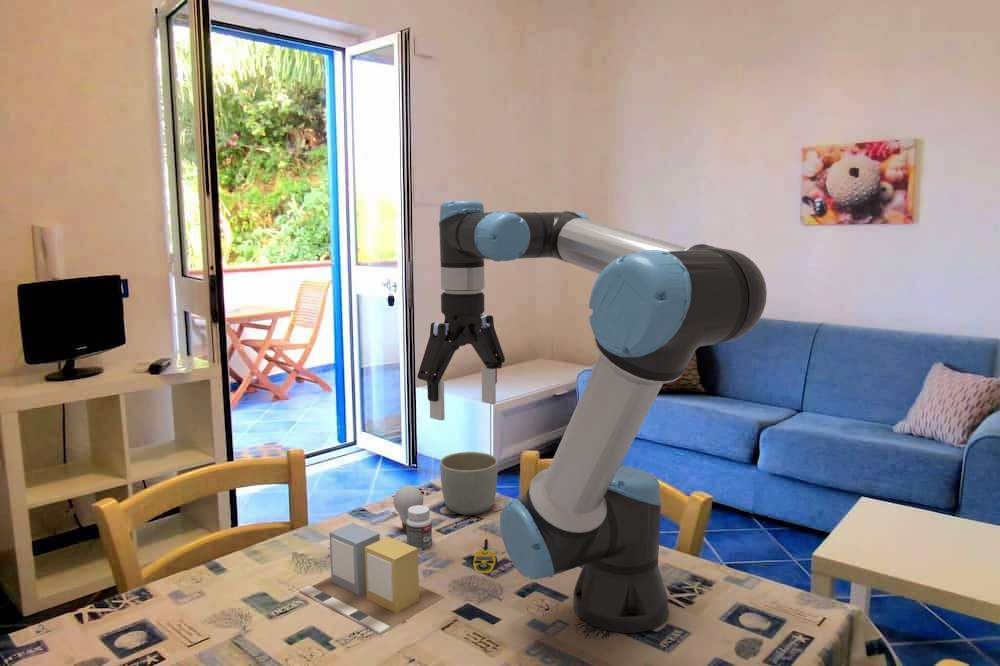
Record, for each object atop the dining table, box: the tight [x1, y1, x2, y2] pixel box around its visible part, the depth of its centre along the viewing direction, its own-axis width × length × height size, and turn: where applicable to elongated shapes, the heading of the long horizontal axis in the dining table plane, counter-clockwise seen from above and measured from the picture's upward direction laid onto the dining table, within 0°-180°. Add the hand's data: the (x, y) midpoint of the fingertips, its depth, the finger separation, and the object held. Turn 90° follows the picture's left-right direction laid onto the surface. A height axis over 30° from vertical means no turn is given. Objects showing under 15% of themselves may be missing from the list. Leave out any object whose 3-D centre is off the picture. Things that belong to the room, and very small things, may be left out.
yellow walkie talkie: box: [470, 538, 499, 574], centre depth 136 cm, size 5×2×15 cm
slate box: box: [328, 522, 381, 595], centre depth 125 cm, size 5×7×9 cm
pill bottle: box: [406, 504, 433, 552], centre depth 139 cm, size 5×5×8 cm
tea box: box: [365, 536, 420, 613], centre depth 119 cm, size 5×7×9 cm
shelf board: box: [298, 576, 445, 636], centre depth 122 cm, size 20×14×2 cm
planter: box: [439, 451, 499, 516], centre depth 159 cm, size 12×12×11 cm
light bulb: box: [393, 484, 424, 532], centre depth 147 cm, size 6×6×10 cm
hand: (464, 410), depth 131 cm, fingers open, 13 cm apart
